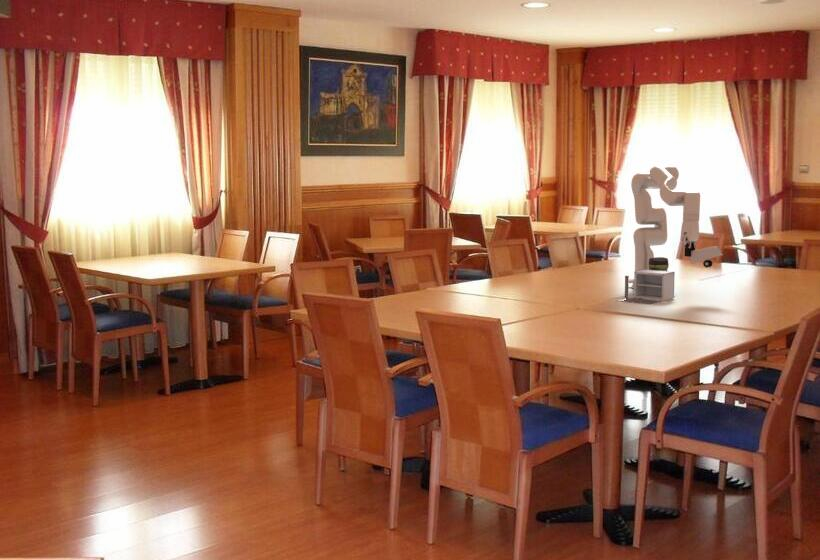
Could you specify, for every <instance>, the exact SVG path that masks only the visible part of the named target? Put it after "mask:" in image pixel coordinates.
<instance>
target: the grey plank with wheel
mask: <svg viewBox="0 0 820 560" xmlns="http://www.w3.org/2000/svg"><path fill="white" fill-rule="evenodd" d="M723 255H724V254H723V252H722V250H721V248H720V246H718V245H714V246H708V247H704V248H700V249H695V250H694V251H691V257H688V259H689V263H690V264H691V265H694V264H697V263H700V262H703V263H702V264H703V267H704V268H711V267H712V266H713V261H712V260H710V259H714V258H717V257H720V256H723Z"/></svg>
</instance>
